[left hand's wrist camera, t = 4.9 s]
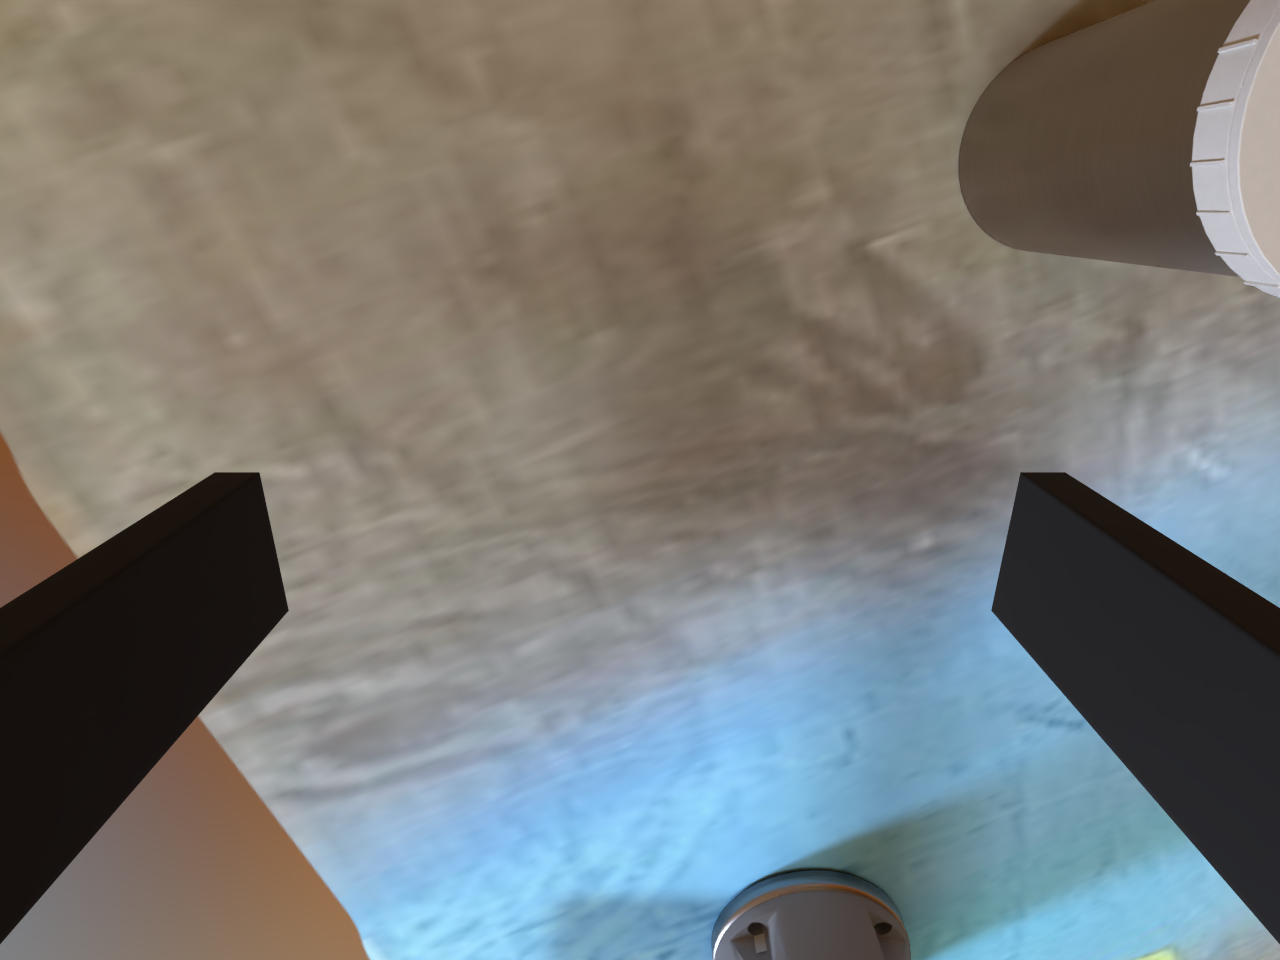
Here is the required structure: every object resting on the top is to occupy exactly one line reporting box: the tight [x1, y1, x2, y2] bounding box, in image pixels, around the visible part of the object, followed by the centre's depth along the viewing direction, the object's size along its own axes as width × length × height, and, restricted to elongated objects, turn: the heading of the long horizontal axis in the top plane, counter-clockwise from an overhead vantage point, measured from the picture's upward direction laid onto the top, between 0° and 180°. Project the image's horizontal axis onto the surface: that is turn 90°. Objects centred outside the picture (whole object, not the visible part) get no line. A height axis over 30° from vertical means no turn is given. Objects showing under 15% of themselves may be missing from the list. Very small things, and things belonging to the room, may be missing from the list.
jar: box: [959, 0, 1250, 277], centre depth 27 cm, size 10×10×18 cm
